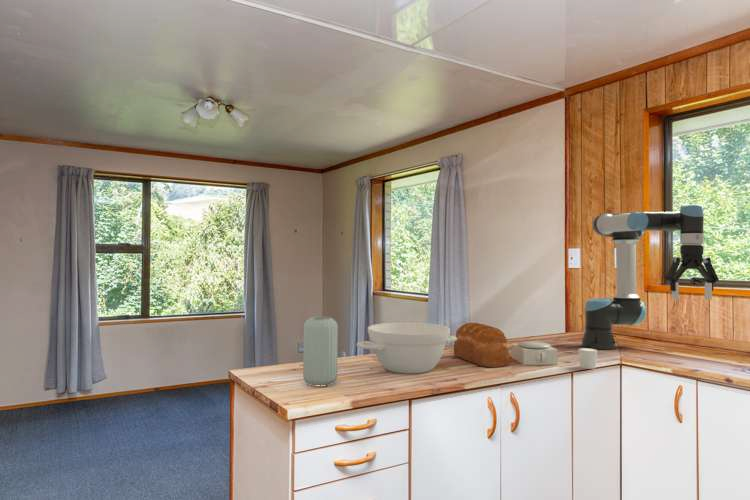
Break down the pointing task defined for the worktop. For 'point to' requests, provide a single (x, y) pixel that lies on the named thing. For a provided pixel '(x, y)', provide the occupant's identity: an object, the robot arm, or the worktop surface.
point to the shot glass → (587, 358)
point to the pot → (408, 345)
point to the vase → (320, 350)
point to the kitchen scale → (534, 353)
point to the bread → (481, 345)
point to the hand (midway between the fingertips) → (691, 299)
